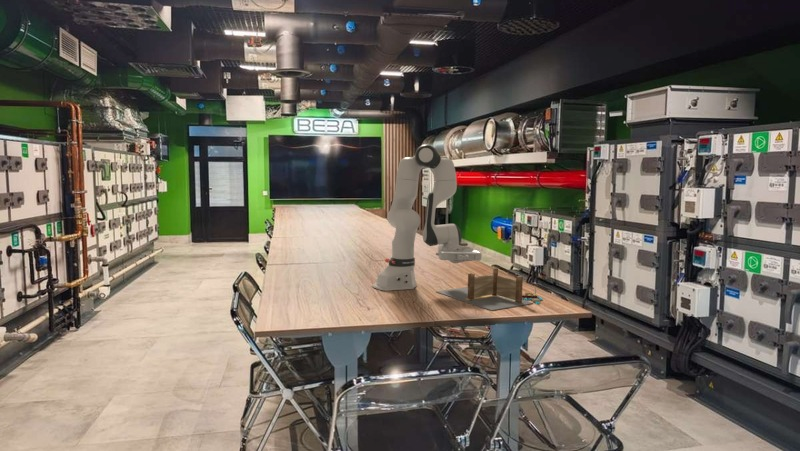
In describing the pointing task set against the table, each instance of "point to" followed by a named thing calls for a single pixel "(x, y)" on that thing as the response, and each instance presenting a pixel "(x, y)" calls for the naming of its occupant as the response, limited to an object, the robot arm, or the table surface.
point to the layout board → (483, 299)
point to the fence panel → (479, 285)
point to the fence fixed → (507, 287)
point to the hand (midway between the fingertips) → (465, 258)
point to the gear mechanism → (532, 297)
